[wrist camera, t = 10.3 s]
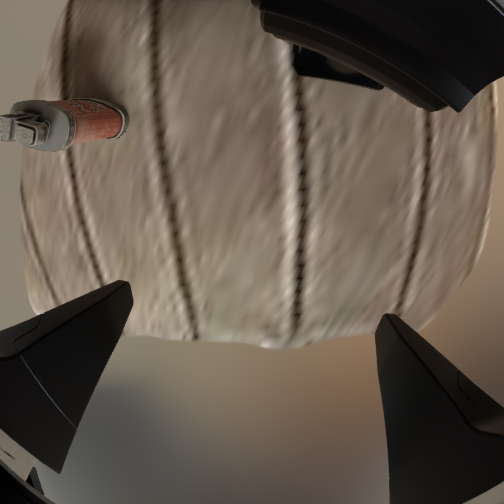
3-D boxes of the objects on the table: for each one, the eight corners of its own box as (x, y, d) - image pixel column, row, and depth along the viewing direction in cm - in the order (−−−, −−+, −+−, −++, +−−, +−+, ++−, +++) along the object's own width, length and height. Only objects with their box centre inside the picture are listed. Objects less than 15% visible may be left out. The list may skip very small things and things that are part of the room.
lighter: (63, 126, 19) (-18, 145, 10) (71, 93, 17) (-12, 100, 8) (123, 145, 19) (34, 170, 11) (134, 107, 18) (43, 111, 9)
